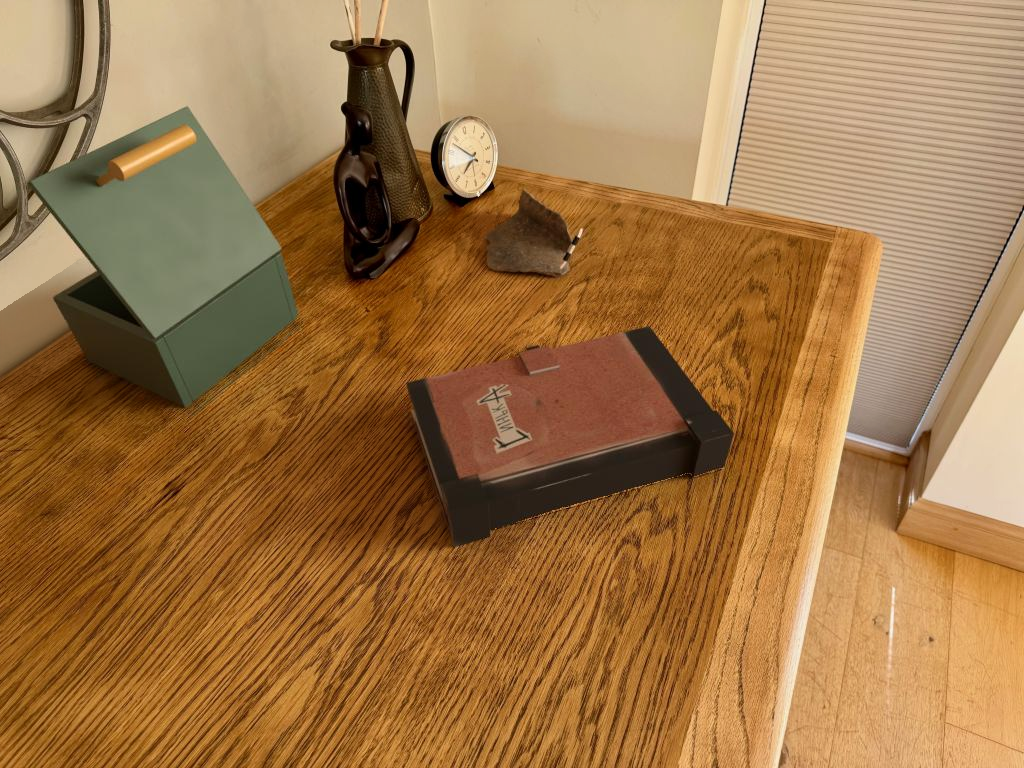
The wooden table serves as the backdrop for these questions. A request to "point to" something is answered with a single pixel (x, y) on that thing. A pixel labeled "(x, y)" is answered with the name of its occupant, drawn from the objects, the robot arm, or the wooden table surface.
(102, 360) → the chest
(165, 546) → the wooden table surface
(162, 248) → the lid
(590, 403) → the red and black box
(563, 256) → the pottery fragment
